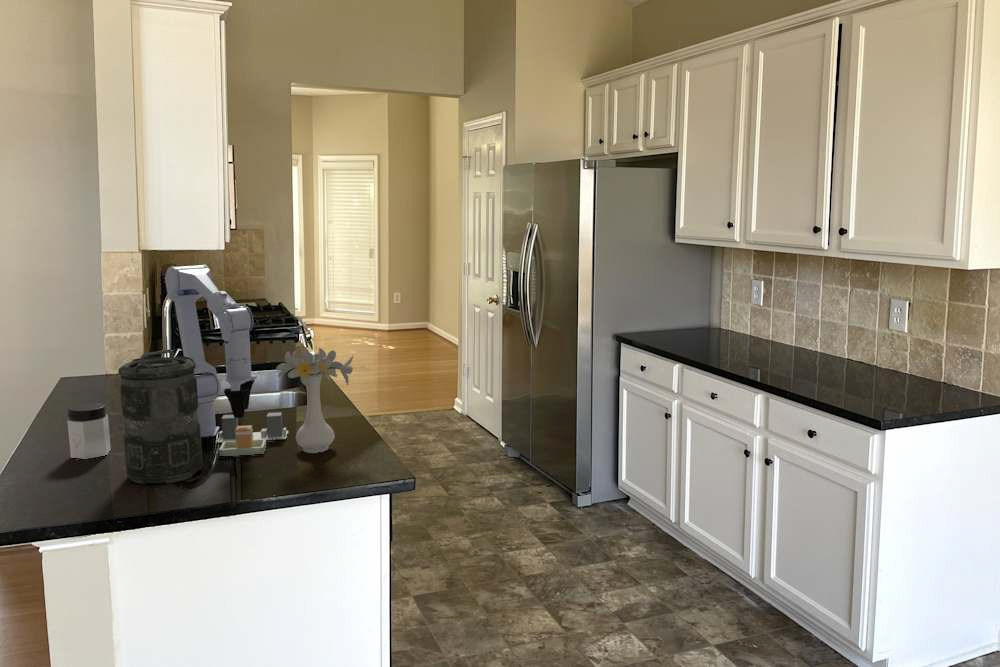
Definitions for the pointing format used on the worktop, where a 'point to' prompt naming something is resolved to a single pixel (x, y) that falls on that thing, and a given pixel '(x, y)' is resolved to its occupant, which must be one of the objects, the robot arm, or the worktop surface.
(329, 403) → the worktop surface
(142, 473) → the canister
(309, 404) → the flower vase
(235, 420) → the panel
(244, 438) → the block
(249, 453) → the tray
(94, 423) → the jar
